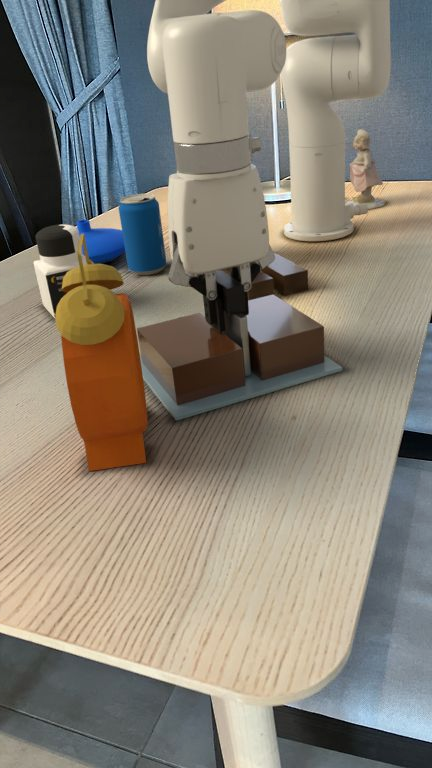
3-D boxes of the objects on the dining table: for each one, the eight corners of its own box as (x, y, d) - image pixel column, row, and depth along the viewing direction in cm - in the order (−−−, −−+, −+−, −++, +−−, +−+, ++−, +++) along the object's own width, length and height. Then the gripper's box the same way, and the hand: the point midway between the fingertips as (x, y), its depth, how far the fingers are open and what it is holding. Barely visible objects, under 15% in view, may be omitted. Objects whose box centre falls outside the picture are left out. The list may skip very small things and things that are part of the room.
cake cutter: (223, 344, 82) (216, 266, 77) (256, 373, 75) (250, 288, 70) (208, 348, 81) (200, 269, 77) (240, 378, 74) (233, 293, 69)
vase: (100, 242, 130) (93, 205, 126) (151, 255, 119) (146, 215, 116) (28, 265, 120) (19, 226, 117) (78, 281, 110) (69, 239, 107)
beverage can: (161, 276, 109) (151, 202, 103) (123, 277, 110) (111, 203, 104) (171, 263, 114) (162, 192, 108) (135, 264, 116) (124, 193, 110)
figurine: (319, 203, 138) (334, 126, 134) (349, 208, 144) (365, 135, 140) (360, 210, 130) (378, 129, 126) (390, 215, 137) (408, 138, 133)
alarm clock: (153, 471, 61) (118, 261, 52) (85, 481, 61) (38, 271, 51) (147, 401, 73) (118, 218, 63) (90, 409, 72) (53, 226, 63)
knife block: (276, 271, 106) (275, 252, 104) (308, 289, 98) (308, 269, 96) (221, 284, 103) (219, 265, 101) (249, 304, 95) (248, 284, 93)
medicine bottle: (55, 320, 96) (37, 238, 90) (42, 305, 102) (24, 228, 96) (102, 308, 99) (87, 227, 93) (87, 294, 104) (72, 218, 99)
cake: (274, 323, 88) (273, 287, 86) (342, 371, 75) (342, 330, 72) (129, 362, 82) (123, 324, 79) (175, 421, 69) (169, 378, 66)
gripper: (266, 141, 73) (274, 299, 81) (126, 164, 68) (151, 330, 77) (300, 149, 66) (305, 319, 75) (149, 176, 62) (174, 355, 70)
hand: (227, 324), depth 76 cm, fingers closed on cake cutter, 2 cm apart
